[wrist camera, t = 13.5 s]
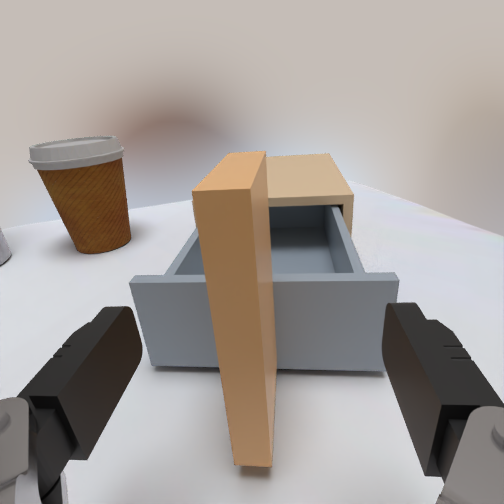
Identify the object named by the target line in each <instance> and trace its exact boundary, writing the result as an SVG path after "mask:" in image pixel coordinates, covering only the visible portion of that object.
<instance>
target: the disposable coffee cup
mask: <svg viewBox="0 0 504 504" xmlns="http://www.w3.org/2000/svg"><path fill="white" fill-rule="evenodd" d="M29 149H30V158H31V159H29V160H28V161H29V163H31V164H32V165H33V167H34V169H37V171H38V173H39V175H40V176H41V179H42V181H43V183H44V185H45V186H46V189H47V190H48V193H49V195H50V196H51V198H52V201H53V202H54V205H55V207H56V208H57V211H58V213H59V214H60V217H61V218H62V221H63V223H64V224H65V227H66V228H67V231H68V232H69V235H70V236H71V238H72V240H73V242H74V244H75V246H76V248H77V250H78V251H79V252H81V253H86V254H93V253H102V252H107V251H111V250H114V249H116V248H119V247H121V246H123V245H125V244H126V243H128V242H129V241H130V239H131V234H130V224H129V217H128V207H127V198H126V190H125V181H124V172H123V164H122V157H123V151H124V148H123V147H121V145H120V143H119V141H118V139H117V137H115V136H97V137H85V138H75V139H67V140H59V141H53V142H47V143H42V144H37V145H33V146H30V147H29Z"/></svg>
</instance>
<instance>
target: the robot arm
mask: <svg viewBox="0 0 504 504" xmlns="http://www.w3.org/2000/svg"><path fill="white" fill-rule="evenodd" d="M10 256H11V251H10V249H9V247H8V244H7V242H6V240H5V238H4V235H3V233H2V231H1V228H0V265H1V264H2V263H4V262H5V261H6V260H7V259H8V258H9V257H10ZM141 357H142V342H141V338H140V335H139V331H138V328H137V324H136V321H135V317H134V314H133V311H132V309H131V308H130V307H128V306H122V307H104V308H103V309H102V310H101V311H100V312H99V313H98V314H97V316H96V317H95V318H94V319H93V320H92V322H88V323H87V324H85V325H84V326H83V327H81V328H80V329H78V330H77V331H75V332H74V333H73V334H72V335H71V336H70V337H69V338H68V339H67V340H66V342H65V343H64V344H63V345H62V348H59V349H58V351H57V352H56V353H55V354H54V355H53V358H50V360H49V361H48V362H47V363H46V364H45V365H44V366H43V367H42V369H41V370H40V371H39V372H38V373H37V374H36V375H35V377H34V378H33V379H32V380H31V381H30V382H29V383H28V384H27V386H26V387H25V388H24V389H23V390H22V391H21V392H20V393H19V395H18V396H17V397H12V398H7V399H3V400H0V504H68V494H67V483H66V476H65V473H64V471H63V469H64V467H65V466H66V464H67V462H68V461H69V460H87V459H88V458H89V456H90V454H91V452H92V450H93V448H94V446H95V445H96V443H97V441H98V439H99V437H100V435H101V434H102V432H103V430H104V428H105V426H106V424H107V422H108V421H109V419H110V417H111V415H112V413H113V411H114V409H115V408H116V406H117V404H118V402H119V400H120V398H121V397H122V395H123V393H124V391H125V389H126V387H127V385H128V384H129V382H130V380H131V378H132V376H133V374H134V373H135V371H136V369H137V367H138V365H139V363H140V361H141ZM382 357H383V362H384V366H385V368H386V371H387V374H388V377H389V379H390V382H391V385H392V387H393V390H394V393H395V396H396V398H397V401H398V404H399V407H400V409H401V412H402V415H403V417H404V420H405V423H406V426H407V428H408V431H409V434H410V437H411V439H412V442H413V445H414V448H415V450H416V453H417V456H418V458H419V461H420V464H421V467H422V469H423V472H424V475H425V476H433V477H442V479H443V482H444V487H443V490H442V492H441V494H440V495H439V497H438V499H437V502H436V504H504V403H503V402H502V401H501V399H500V398H499V396H498V395H497V394H496V392H495V391H494V389H493V388H492V386H491V385H490V384H489V382H488V381H487V379H486V378H485V377H484V375H483V374H482V372H481V371H480V369H479V368H478V367H477V365H476V364H475V362H474V361H472V360H471V357H470V355H469V354H468V352H467V351H466V350H465V348H463V345H462V344H461V343H460V341H459V340H458V338H457V337H456V335H455V334H454V333H453V331H451V330H450V329H449V328H447V327H446V326H445V325H443V324H442V323H440V322H439V321H438V320H427V319H426V318H425V316H424V315H423V313H422V311H421V310H420V308H419V307H418V305H417V304H416V303H387V305H386V309H385V318H384V327H383V336H382Z"/></svg>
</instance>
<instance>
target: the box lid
mask: <svg viewBox="0 0 504 504" xmlns="http://www.w3.org/2000/svg"><path fill="white" fill-rule="evenodd" d="M266 167H267V185H268V204H269V207H279V206H306V205H333V204H337V205H338V207H339V210H340V212H341V214H342V217H343V219H344V222H345V224H346V227H347V229H348V232H349V234H350V236H351V233H352V217H353V201H354V194H353V192H352V191H351V189H350V187H349V186H348V184H347V182H346V181H345V179H344V178H343V176H342V174H341V172H340V171H339V169H338V167H337V166H336V164H335V162H334V161H333V159H332V158H331V156H330V154H312V155H311V154H310V155H293V156H275V157H266ZM192 204H193V210H194V217H195V223H196V227H197V222H196V215H195V209H194V202H193V201H192Z"/></svg>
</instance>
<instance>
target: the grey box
mask: <svg viewBox="0 0 504 504" xmlns="http://www.w3.org/2000/svg"><path fill="white" fill-rule="evenodd" d="M192 196H193V202H194V209H195V215H196V222H197V227H196V229H195V230H194V232H193V233H192V235H191V236H190V238H189V239H188V241H187V242H186V244H185V245H184V246H183V248H182V249H181V251H180V252H179V254H178V255H177V257H176V258H175V260H174V261H173V263H172V264H171V266H170V267H169V268H168V270H167V271H166V273H165V274H164V275H135V276H134V277H133V279H132V280H131V281H130V282H129V285H130V289H131V292H132V296H133V299H134V303H135V307H136V310H137V314H138V318H139V321H140V325H141V329H142V332H143V336H144V339H145V343H146V347H147V350H148V354H149V358H150V361H151V365H152V366H187V367H219V369H220V375H221V382H222V388H223V395H224V401H225V407H226V414H227V420H228V427H229V433H230V439H231V446H232V452H233V459H234V465H244V466H260V467H272V453H273V433H274V413H275V392H276V372H277V369H309V370H350V371H386V368H385V366H384V362H383V357H382V336H383V327H384V318H385V309H386V305H387V303H396V301H397V294H398V287H399V279H398V277H397V275H396V274H395V272H390V273H365V271H364V268H363V266H362V263H361V261H360V258H359V256H358V254H357V251H356V249H355V246H354V244H353V241H352V239H351V236H350V234H349V232H348V229H347V227H346V224H345V222H344V219H343V217H342V214H341V212H340V210H339V207H338V205H337V204H333V205H306V206H279V207H269V204H268V185H267V167H266V151H256V152H239V153H228V154H227V155H226V157H225V158H224V159H223V160H222V161H221V162H220V163H219V164H218V165H217V166H216V167H215V168H214V169H213V170H212V171H211V172H210V173H209V174H208V175H207V176H206V177H205V178H204V179H203V180H202V181H201V182H200V183H199V184H198V185H197V186H196V187H195V189H193V190H192Z"/></svg>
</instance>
